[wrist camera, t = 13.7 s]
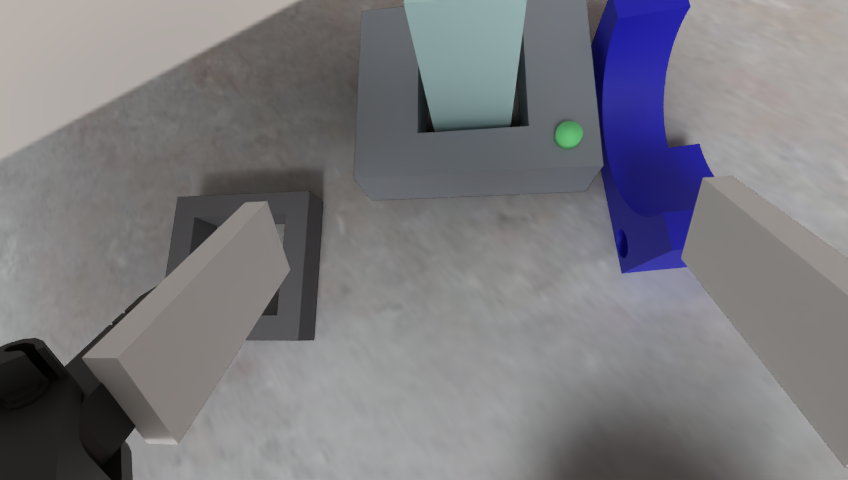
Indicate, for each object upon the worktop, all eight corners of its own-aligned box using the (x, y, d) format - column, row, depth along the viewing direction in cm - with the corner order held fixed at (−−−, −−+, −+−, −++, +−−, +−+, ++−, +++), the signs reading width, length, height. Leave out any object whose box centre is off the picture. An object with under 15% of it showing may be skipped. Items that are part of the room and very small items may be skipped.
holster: (182, 339, 23) (155, 339, 22) (201, 207, 25) (177, 196, 23) (314, 339, 22) (298, 340, 20) (323, 202, 24) (309, 190, 22)
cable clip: (713, 264, 21) (802, 236, 15) (620, 273, 21) (672, 250, 15) (660, 61, 23) (718, -29, 18) (580, 74, 24) (611, -10, 18)
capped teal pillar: (438, 151, 24) (390, -52, 11) (438, 91, 25) (393, -159, 12) (507, 147, 23) (536, -72, 11) (505, 85, 24) (528, -181, 12)
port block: (371, 200, 24) (350, 174, 20) (377, 53, 26) (358, 4, 22) (585, 191, 22) (606, 160, 18) (570, 34, 24) (587, -22, 21)
